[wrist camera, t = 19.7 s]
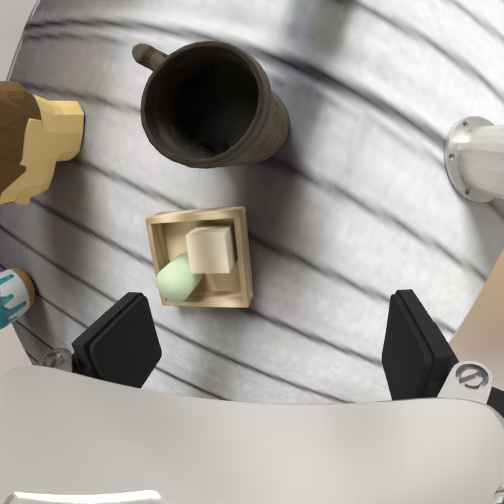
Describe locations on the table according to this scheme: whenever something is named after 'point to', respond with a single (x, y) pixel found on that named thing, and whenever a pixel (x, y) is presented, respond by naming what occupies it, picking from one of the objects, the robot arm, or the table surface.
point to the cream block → (212, 248)
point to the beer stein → (210, 106)
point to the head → (34, 140)
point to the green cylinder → (177, 279)
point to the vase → (14, 295)
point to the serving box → (174, 243)
